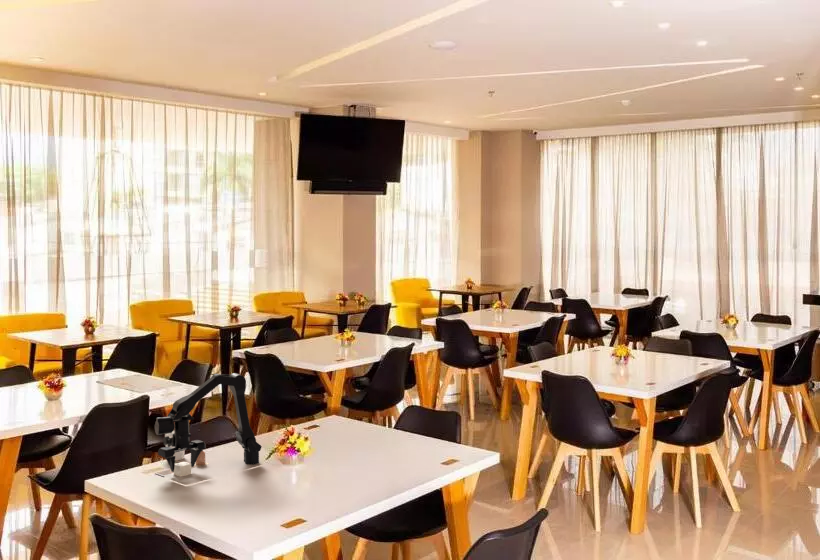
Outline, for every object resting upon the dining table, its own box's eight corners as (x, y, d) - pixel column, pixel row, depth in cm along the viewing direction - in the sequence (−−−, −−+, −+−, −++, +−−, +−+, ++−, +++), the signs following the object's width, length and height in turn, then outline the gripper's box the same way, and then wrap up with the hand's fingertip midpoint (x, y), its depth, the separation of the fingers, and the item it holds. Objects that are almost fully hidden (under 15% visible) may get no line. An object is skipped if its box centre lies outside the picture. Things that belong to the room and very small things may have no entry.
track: (202, 462, 350) (202, 460, 349) (211, 465, 345) (211, 463, 345) (154, 474, 332) (154, 472, 332) (163, 477, 328) (163, 475, 328)
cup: (160, 461, 352) (160, 433, 351) (175, 455, 360) (175, 429, 359) (176, 463, 348) (175, 436, 347) (191, 458, 356) (190, 431, 355)
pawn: (207, 463, 345) (207, 449, 345) (199, 465, 342) (199, 451, 342) (201, 461, 348) (201, 448, 347) (193, 463, 345) (193, 450, 344)
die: (191, 475, 331) (191, 463, 330) (180, 478, 327) (180, 466, 327) (184, 473, 334) (184, 461, 334) (173, 476, 330) (173, 463, 330)
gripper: (190, 424, 342) (191, 460, 343) (150, 432, 328) (151, 470, 329) (205, 428, 334) (206, 465, 335) (165, 437, 320) (166, 475, 321)
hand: (182, 469), depth 330 cm, fingers open, 9 cm apart
